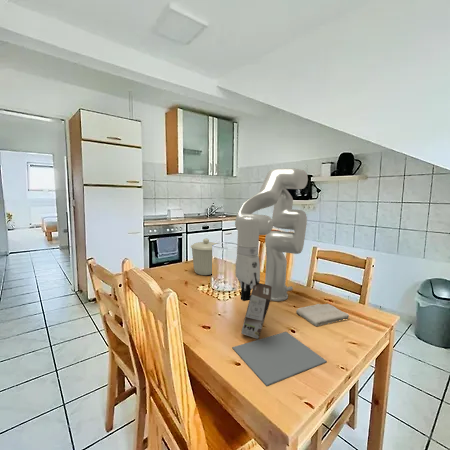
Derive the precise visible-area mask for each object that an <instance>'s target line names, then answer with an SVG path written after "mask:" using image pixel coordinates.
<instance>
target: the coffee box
mask: <svg viewBox="0 0 450 450" xmlns="http://www.w3.org/2000/svg"><path fill="white" fill-rule="evenodd" d="M255 283H256V285H254V286H253V289H252V290H251V297H250V300H248V305H247V308H246V311H245V312H246V313H245V316H244V321H243V325H242V328H241V332H240V333H241V334H242V335H245V336H248V337H251V338H253V339H255V340H259V338H260V336H261V332H262V328H263V326H264V323H265V319H266V316H267V314H268V313H267V312H268V309H269V306H270V303H271V301H272V300H271V289H272V286H269V285H265V283H260V282H259V283H257V282H255Z"/></svg>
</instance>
